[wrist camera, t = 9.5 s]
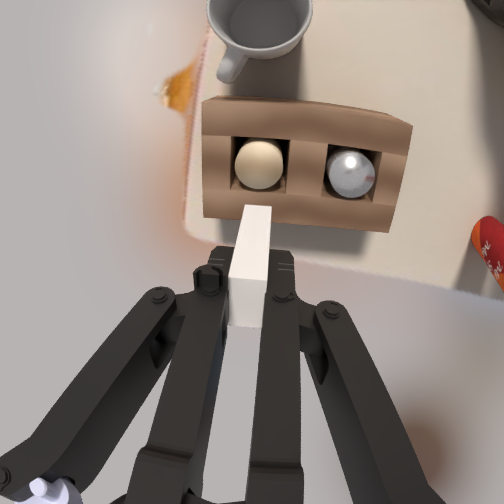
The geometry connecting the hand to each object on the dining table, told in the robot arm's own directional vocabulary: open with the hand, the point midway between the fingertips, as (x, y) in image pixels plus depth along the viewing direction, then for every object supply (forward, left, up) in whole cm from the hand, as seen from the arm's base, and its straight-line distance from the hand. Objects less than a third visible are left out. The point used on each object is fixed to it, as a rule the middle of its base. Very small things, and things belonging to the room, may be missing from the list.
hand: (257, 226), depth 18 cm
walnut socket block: (0, +4, -20) cm, 21 cm away
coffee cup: (+8, +36, -21) cm, 42 cm away
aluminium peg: (0, +8, -20) cm, 22 cm away
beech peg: (0, -1, -20) cm, 20 cm away
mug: (-13, -2, -21) cm, 25 cm away
